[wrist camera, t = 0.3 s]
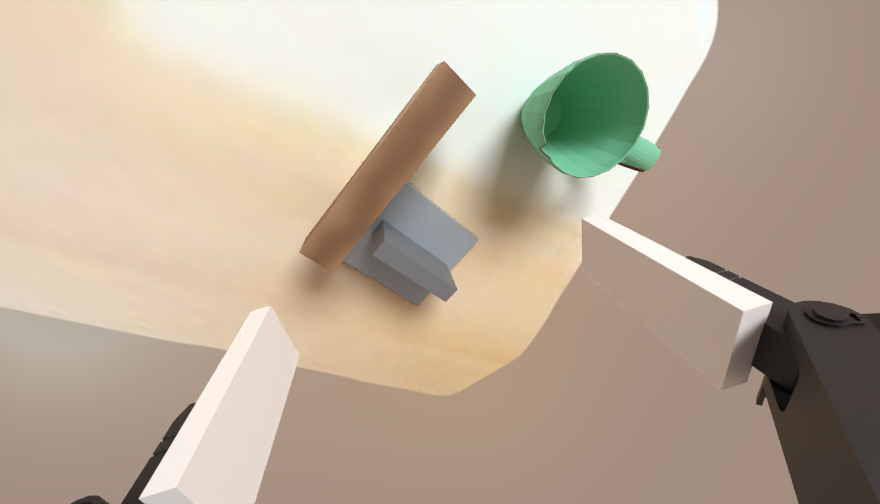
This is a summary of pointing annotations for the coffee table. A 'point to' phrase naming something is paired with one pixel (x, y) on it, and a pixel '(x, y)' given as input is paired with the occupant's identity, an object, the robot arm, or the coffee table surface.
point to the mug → (591, 117)
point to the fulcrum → (412, 247)
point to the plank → (388, 166)
